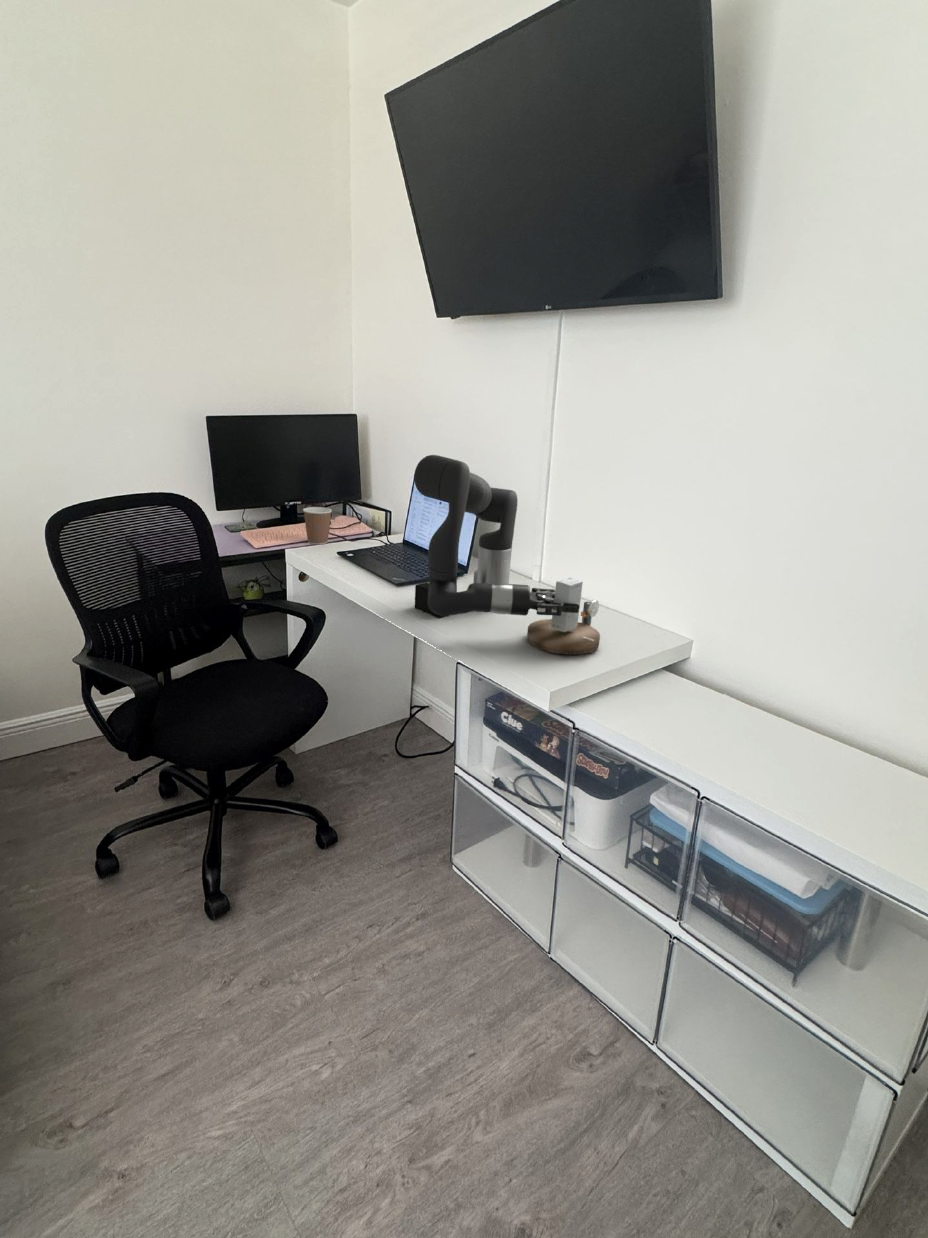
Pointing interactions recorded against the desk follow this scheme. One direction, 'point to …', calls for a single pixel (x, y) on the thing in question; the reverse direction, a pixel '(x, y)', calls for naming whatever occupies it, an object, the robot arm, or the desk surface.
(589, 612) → the post with glass disc
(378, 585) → the desk surface
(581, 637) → the turntable
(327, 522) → the coffee cup
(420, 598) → the digital camera
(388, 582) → the desk surface
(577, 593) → the skincare box
